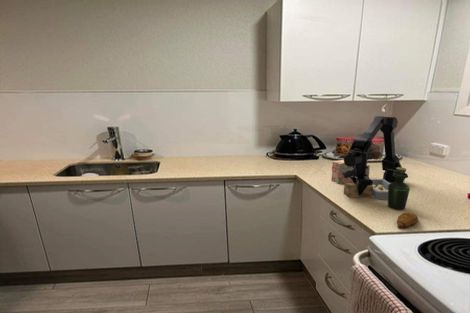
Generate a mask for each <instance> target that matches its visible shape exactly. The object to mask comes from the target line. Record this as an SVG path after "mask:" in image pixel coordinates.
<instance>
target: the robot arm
mask: <svg viewBox="0 0 470 313" xmlns="http://www.w3.org/2000/svg"><path fill="white" fill-rule="evenodd" d="M398 121H399V120H398V119H397V117H395V116H385V115H381V116H380V115H376V116H374V118H373V120H372V122H371V123H370V124H369V125H368V127H367V128H366V130H365V131H364V132H363V133H361V134H358V136H356V137H355V138H354V140H352V143H351V145H350V147H349V150H348V153H347V154H346V155H344V158H343V160H344V163H345V165H347V166H348V167H350V168H346V169H343V170H341V173H342V176H343V177H344V178H348V177H350V178H351V179H352V180H353V182H352V183H356V184H357V185H358V195H361V194H362V193H363V191H364V190H365V189H366V187H367V186H372V185H373V181H372V180H371V179H372V178H370V177H369V178H368V177H367V174H366V169H368V166H367V164H368V156H369V154H370V149H371V148H372V146H373V144H374V143H373V139H374V138H375V137H376V135H377V134H378V132H382V134H383V146H384V158H382V160H381V166H382V167H381V168H382V169H381V170H382V171H384V172H383V175H382V176H383V177H382V179H384V180H386V181H387V182H389V183H392V182H396V180H395V177H394V176H393V173H394V172H396V168H397V167H401V168H403V167H402V164H401V162H400V158H399V157H398V155H396V146H395V130H396V129H397V127H398V123H399V122H398ZM351 166H352V167H351Z"/></svg>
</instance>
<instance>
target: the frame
mask: <svg viewBox="0 0 470 313" xmlns="http://www.w3.org/2000/svg"><path fill="white" fill-rule="evenodd" d="M370 179H371V180H372V181H373V185H372V186H373V192H372V197H373V198H374V199H375V200H388V185H389V184H390V183H389V182H387V181H386V180H384V179H383V178H370ZM376 187H377V188H376ZM383 188H384V189H385V190H384V189H383Z"/></svg>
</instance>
